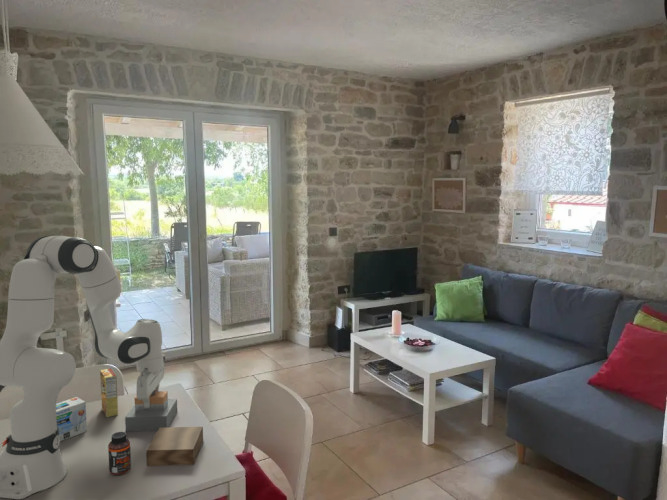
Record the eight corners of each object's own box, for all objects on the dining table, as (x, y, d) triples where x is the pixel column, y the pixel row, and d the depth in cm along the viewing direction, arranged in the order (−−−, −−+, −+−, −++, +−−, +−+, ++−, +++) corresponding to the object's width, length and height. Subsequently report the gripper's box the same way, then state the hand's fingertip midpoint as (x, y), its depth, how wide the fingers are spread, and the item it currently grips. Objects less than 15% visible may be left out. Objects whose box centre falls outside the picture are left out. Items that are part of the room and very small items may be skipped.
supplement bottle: (117, 478, 140) (115, 442, 139) (105, 472, 143) (102, 436, 142) (135, 468, 145) (133, 433, 144) (123, 462, 148) (121, 427, 147)
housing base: (167, 404, 177) (167, 397, 177) (163, 410, 172) (163, 403, 172) (139, 404, 177) (139, 398, 176) (135, 411, 172) (134, 404, 171)
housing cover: (167, 397, 177) (167, 388, 176) (163, 403, 172) (163, 394, 171) (139, 398, 176) (139, 389, 176) (134, 404, 171) (134, 395, 171)
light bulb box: (55, 443, 159) (53, 412, 158) (46, 437, 163) (44, 406, 162) (88, 430, 168) (86, 401, 166) (78, 425, 172) (76, 396, 170)
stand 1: (125, 431, 168) (125, 417, 167) (139, 412, 182) (138, 399, 181) (167, 429, 169) (166, 416, 168) (177, 411, 182) (176, 398, 182)
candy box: (101, 409, 184) (99, 370, 182) (113, 406, 187) (111, 367, 185) (106, 417, 177) (104, 377, 175) (119, 414, 180) (116, 375, 178)
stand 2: (146, 466, 147) (145, 450, 146) (160, 441, 161) (159, 427, 160) (193, 464, 148) (193, 449, 147) (203, 440, 162) (202, 426, 161)
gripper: (149, 374, 162) (151, 414, 164) (166, 353, 182) (168, 389, 184) (130, 375, 162) (132, 414, 164) (149, 354, 182) (151, 389, 184)
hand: (151, 400), depth 174 cm, fingers open, 8 cm apart
